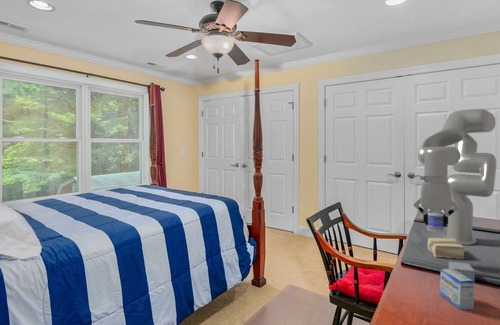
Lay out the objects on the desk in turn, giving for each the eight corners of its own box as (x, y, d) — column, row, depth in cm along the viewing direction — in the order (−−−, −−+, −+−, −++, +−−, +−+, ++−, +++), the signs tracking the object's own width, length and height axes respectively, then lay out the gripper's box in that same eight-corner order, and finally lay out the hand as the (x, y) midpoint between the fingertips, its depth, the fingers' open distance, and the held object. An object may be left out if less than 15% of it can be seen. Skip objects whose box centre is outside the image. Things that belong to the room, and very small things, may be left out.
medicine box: (439, 295, 89) (439, 269, 88) (452, 294, 89) (453, 267, 89) (460, 310, 81) (460, 281, 80) (474, 309, 81) (475, 280, 81)
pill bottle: (446, 233, 108) (446, 208, 107) (430, 232, 109) (431, 208, 108) (439, 228, 114) (440, 204, 112) (424, 227, 115) (425, 204, 114)
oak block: (427, 248, 126) (427, 237, 125) (453, 249, 123) (453, 238, 123) (435, 257, 116) (435, 245, 116) (463, 259, 113) (464, 247, 113)
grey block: (448, 272, 104) (448, 261, 104) (468, 274, 102) (468, 263, 101) (453, 279, 98) (453, 268, 98) (474, 282, 96) (474, 270, 96)
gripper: (410, 180, 111) (410, 225, 113) (464, 182, 102) (463, 230, 104) (410, 177, 118) (410, 220, 119) (461, 179, 109) (461, 224, 110)
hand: (435, 224), depth 111 cm, fingers closed on pill bottle, 5 cm apart
